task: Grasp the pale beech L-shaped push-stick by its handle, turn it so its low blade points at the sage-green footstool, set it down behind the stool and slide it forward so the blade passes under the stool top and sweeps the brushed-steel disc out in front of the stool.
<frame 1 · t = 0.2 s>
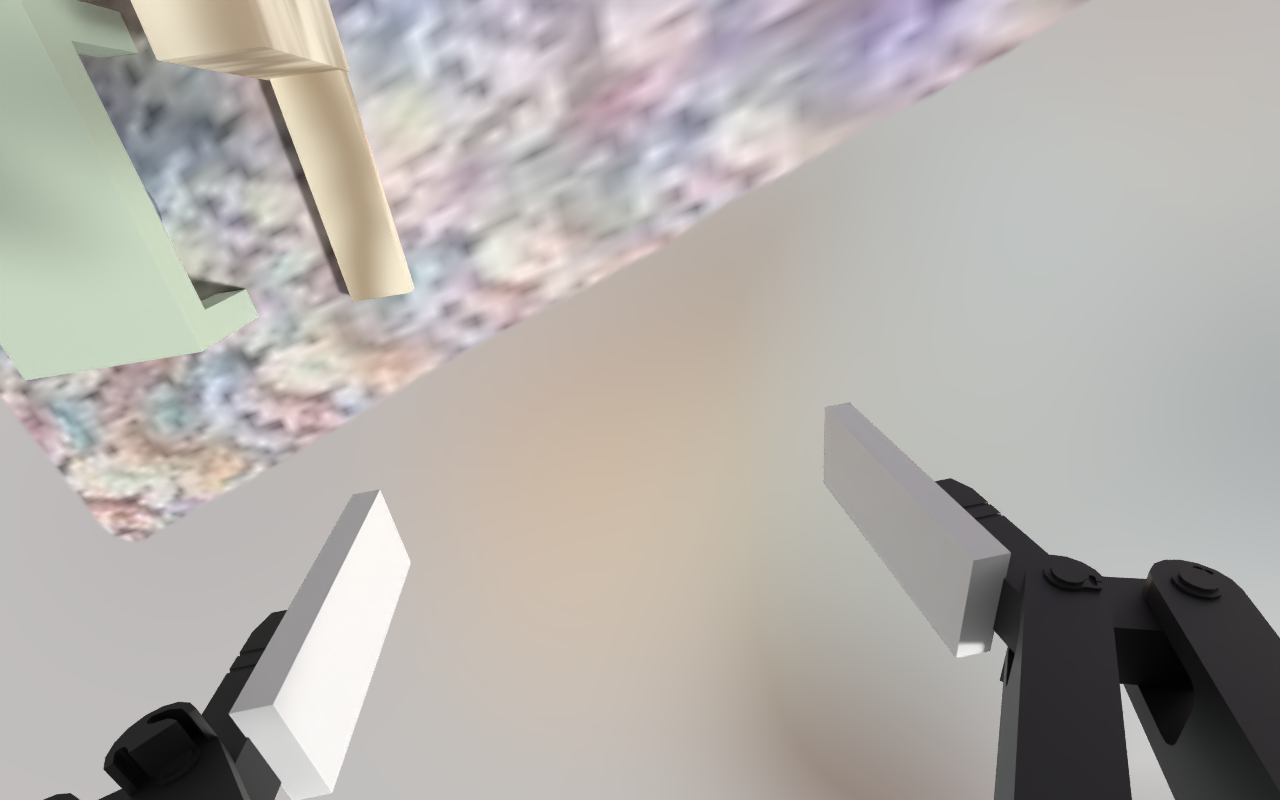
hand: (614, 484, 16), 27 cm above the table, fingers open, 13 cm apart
pusher: (297, 32, 33), on the table
footstool: (115, 193, 35), on the table
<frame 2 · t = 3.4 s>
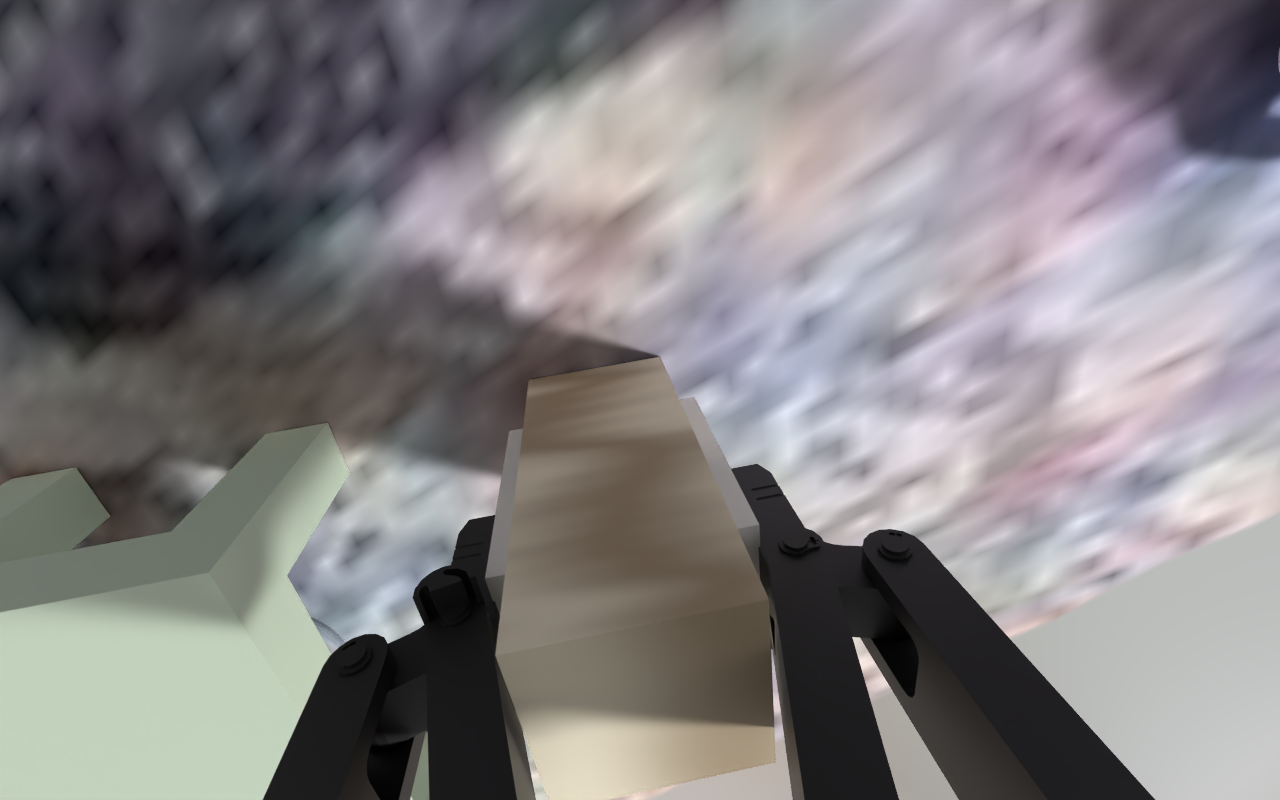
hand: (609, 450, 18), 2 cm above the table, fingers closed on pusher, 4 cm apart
pusher: (605, 425, 20), on the table, touching gripper
token: (276, 656, 23), on the table
footstool: (287, 641, 22), on the table
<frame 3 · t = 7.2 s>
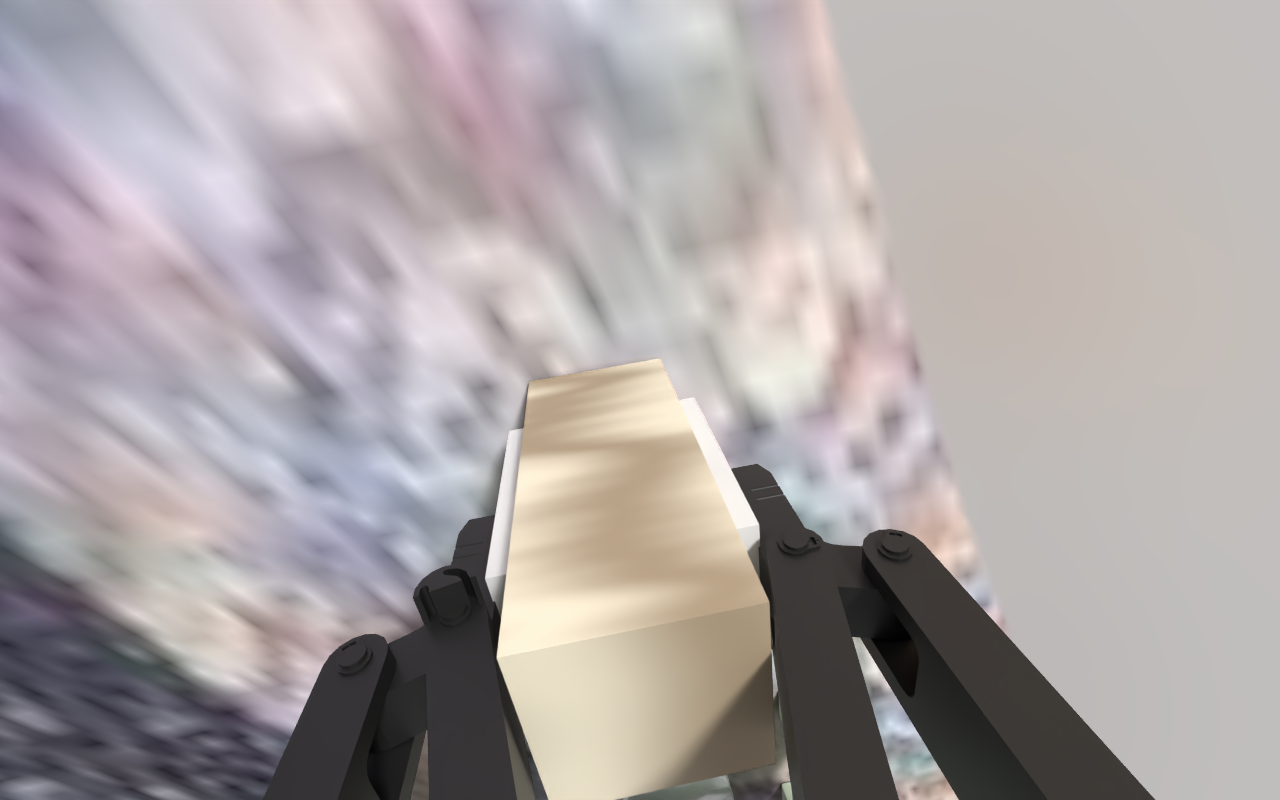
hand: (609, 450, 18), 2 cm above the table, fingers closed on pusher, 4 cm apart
pusher: (605, 427, 20), on the table, touching gripper
token: (672, 779, 30), on the table
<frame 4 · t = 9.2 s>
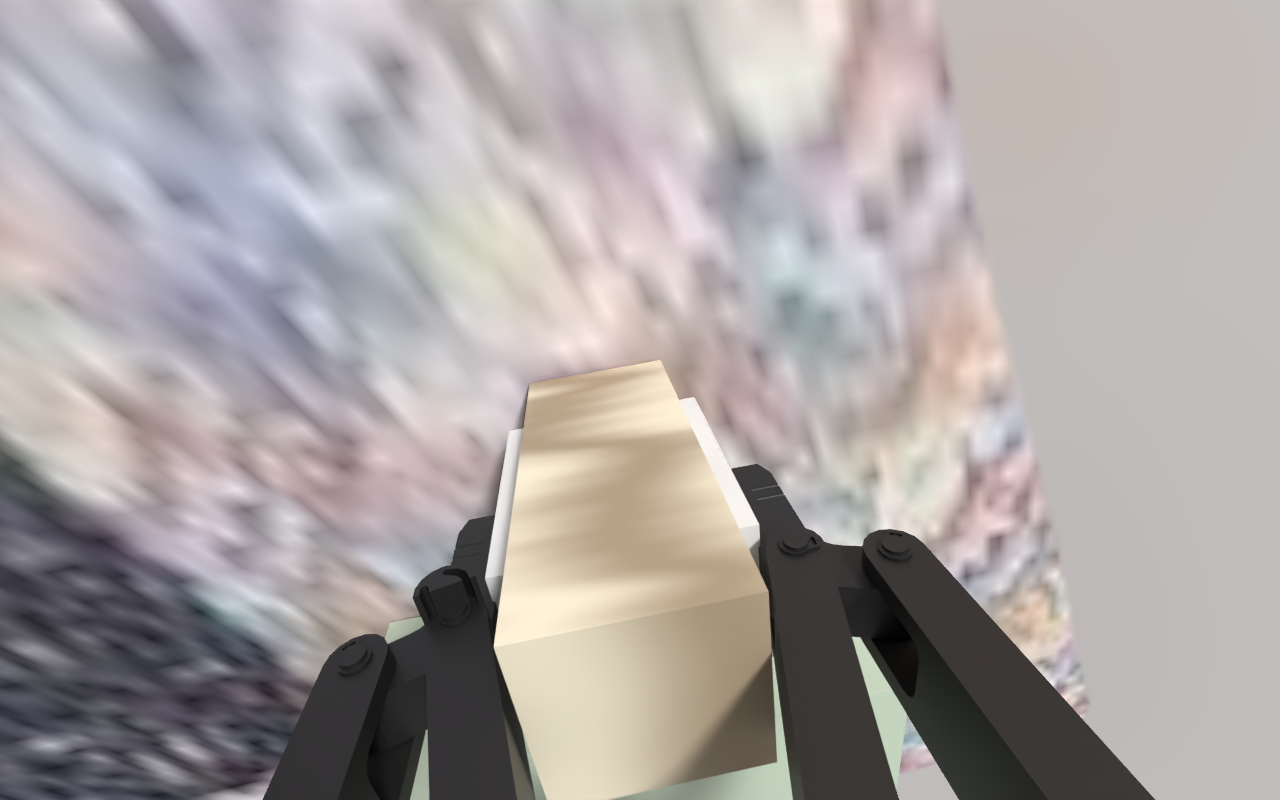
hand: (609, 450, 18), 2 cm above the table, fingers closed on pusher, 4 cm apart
pusher: (606, 429, 20), on the table, touching gripper
footstool: (625, 661, 25), on the table
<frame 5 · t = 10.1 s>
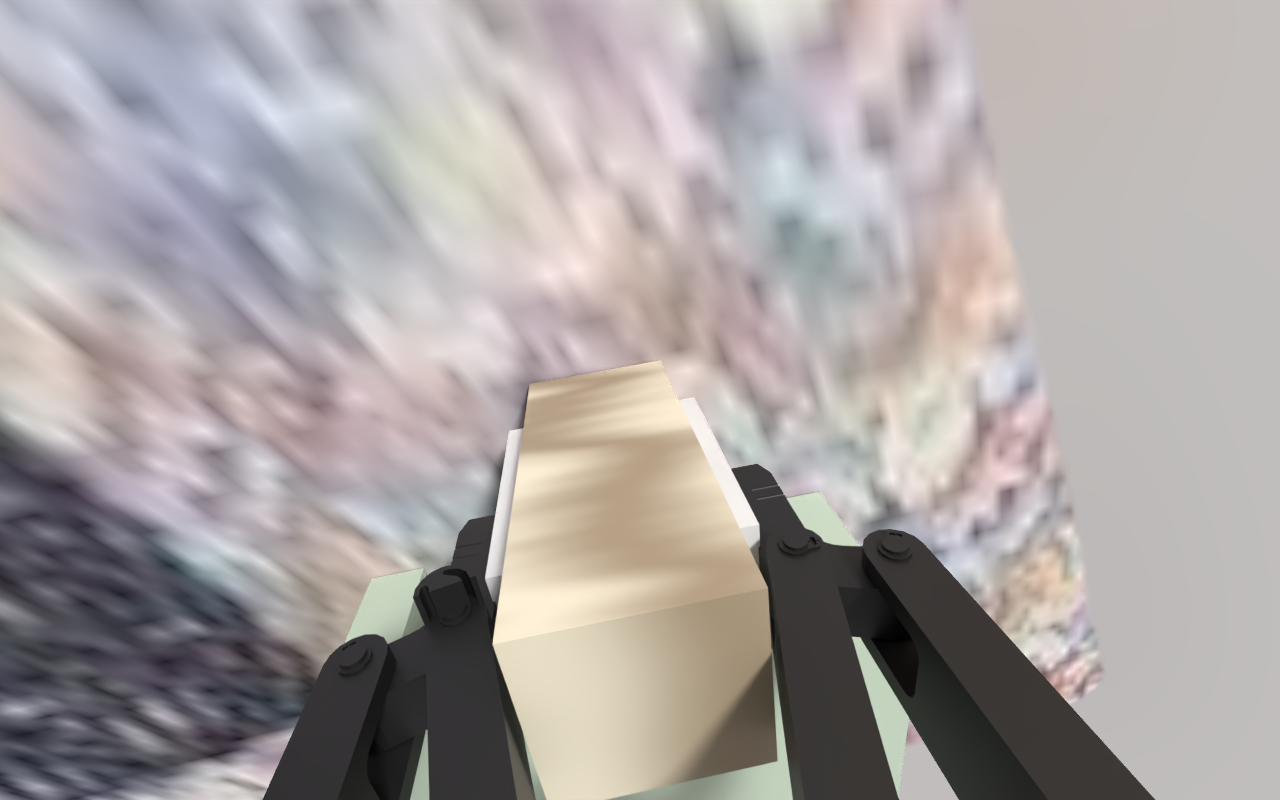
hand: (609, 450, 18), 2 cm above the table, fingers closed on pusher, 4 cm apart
pusher: (606, 430, 20), on the table, touching gripper
footstool: (620, 623, 24), on the table
when the fingers open (2 cm above the table, at t = 11.0 s): pusher stays where it is, on the table.
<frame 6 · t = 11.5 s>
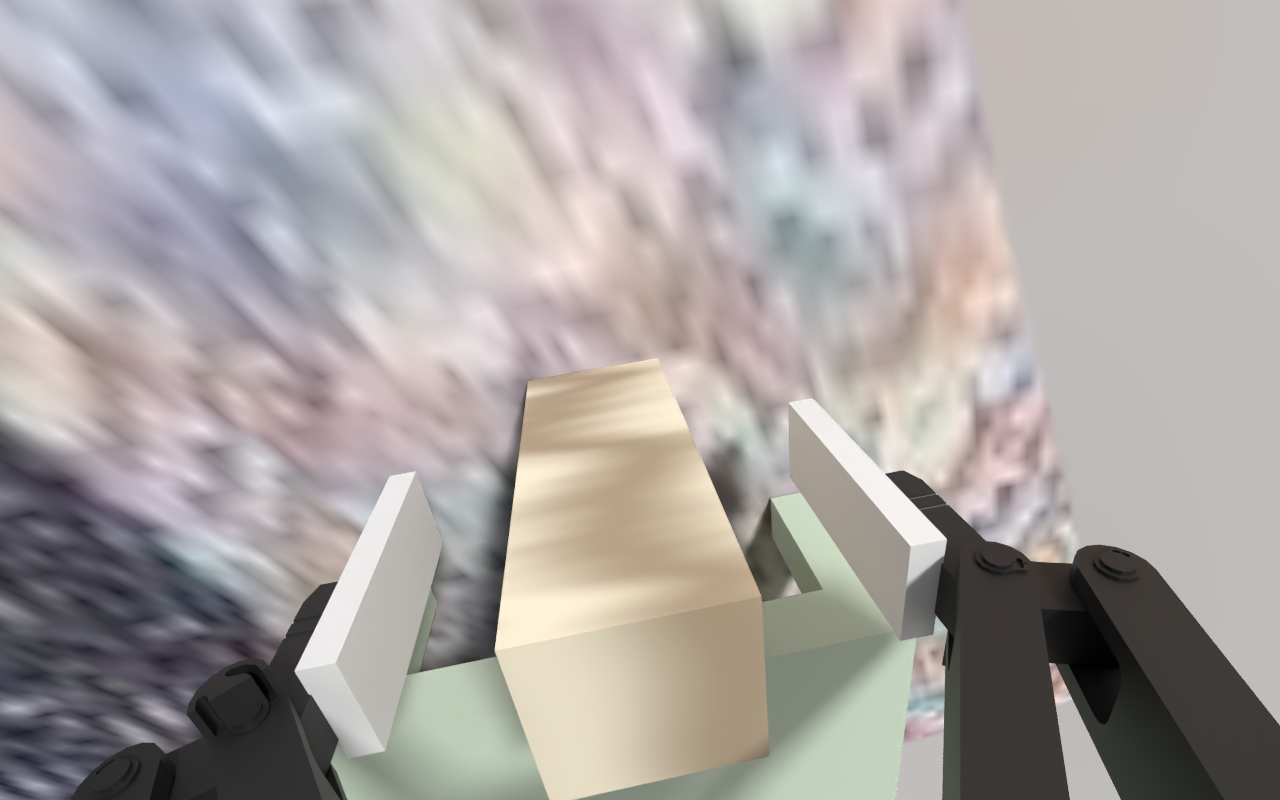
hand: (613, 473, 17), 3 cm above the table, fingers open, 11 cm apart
pusher: (604, 426, 20), on the table
footstool: (618, 620, 24), on the table
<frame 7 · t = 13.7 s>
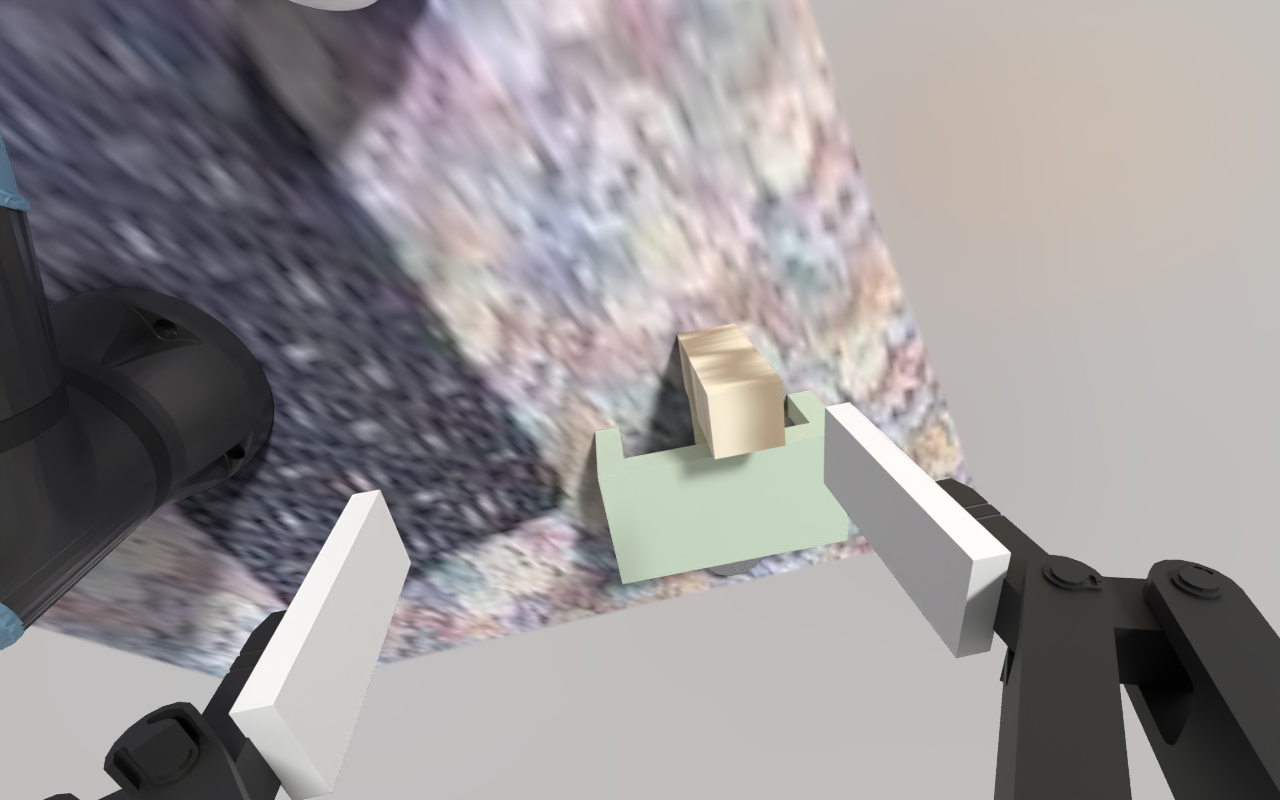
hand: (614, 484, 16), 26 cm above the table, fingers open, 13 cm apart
pusher: (708, 356, 43), on the table
token: (729, 539, 52), on the table
footstool: (709, 461, 48), on the table
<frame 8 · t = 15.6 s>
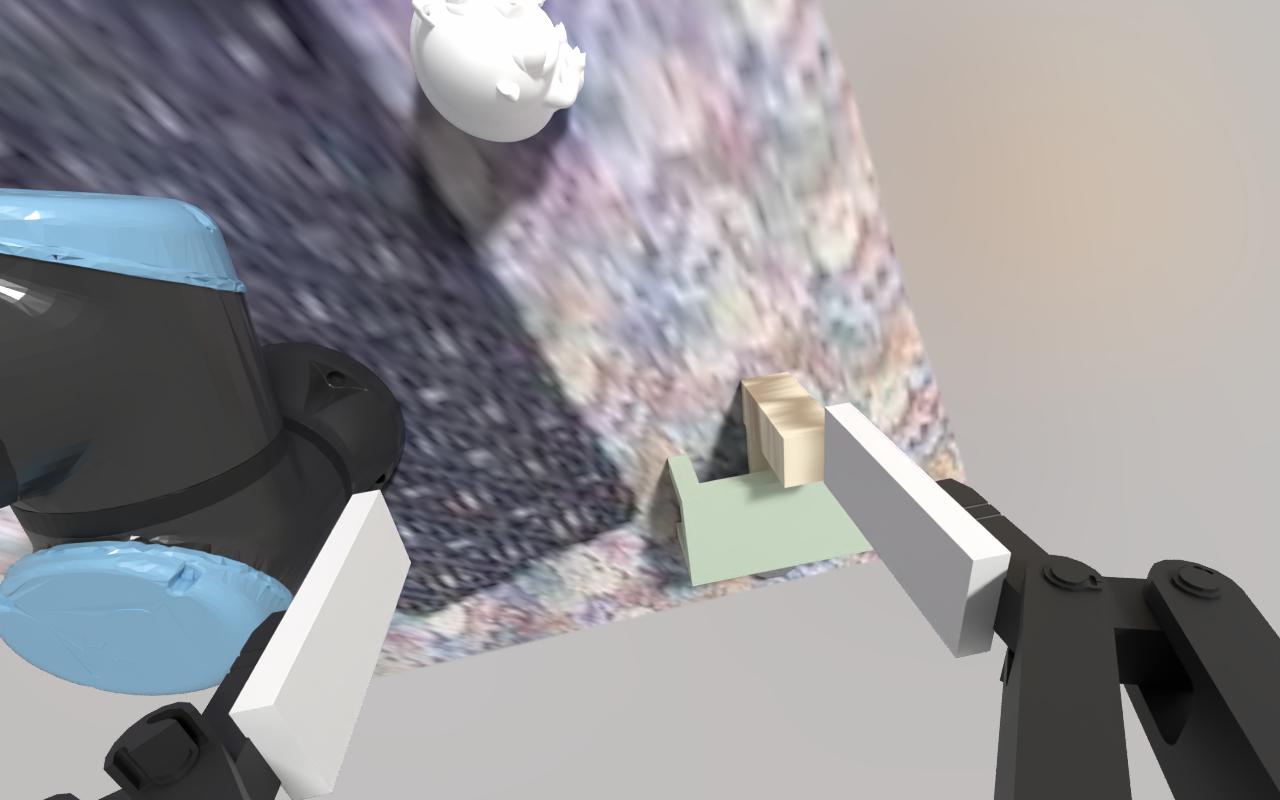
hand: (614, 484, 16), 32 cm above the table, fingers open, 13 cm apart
pusher: (765, 397, 53), on the table
figurine: (499, 67, 39), on the table
token: (770, 547, 61), on the table
footstool: (759, 482, 57), on the table
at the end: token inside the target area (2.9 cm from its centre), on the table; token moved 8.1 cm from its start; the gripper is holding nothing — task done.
